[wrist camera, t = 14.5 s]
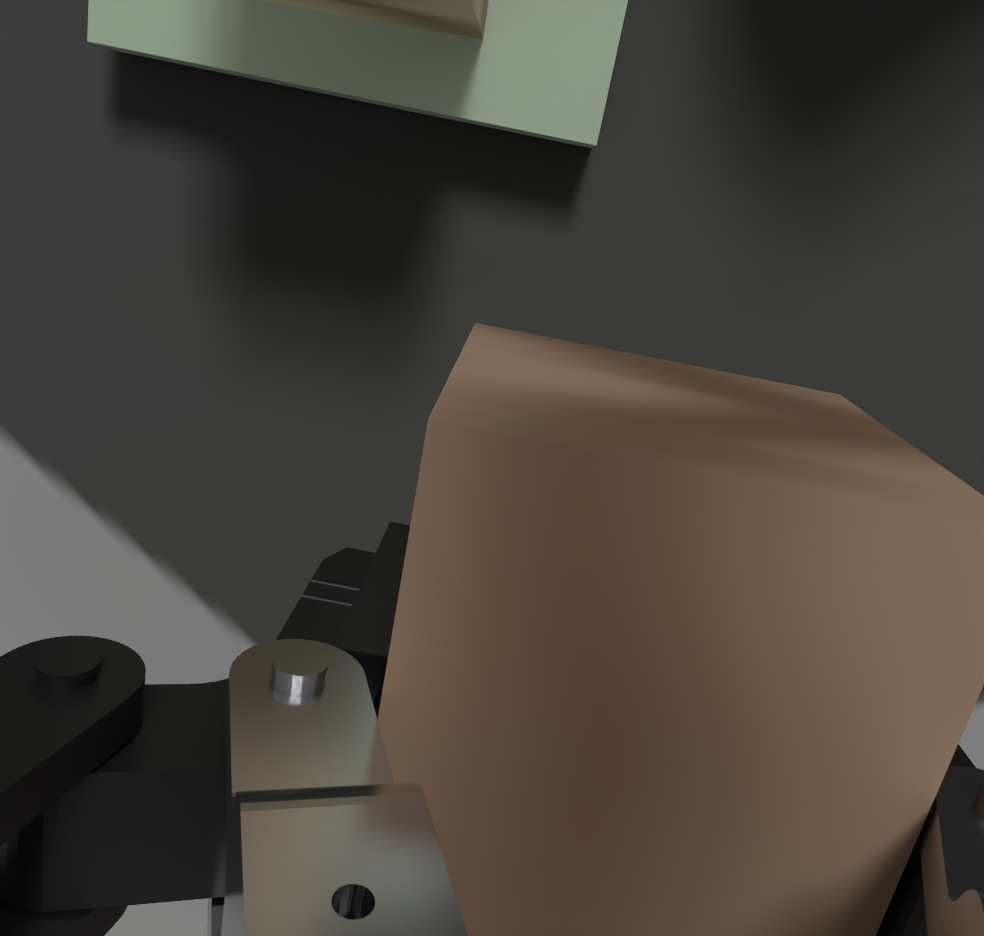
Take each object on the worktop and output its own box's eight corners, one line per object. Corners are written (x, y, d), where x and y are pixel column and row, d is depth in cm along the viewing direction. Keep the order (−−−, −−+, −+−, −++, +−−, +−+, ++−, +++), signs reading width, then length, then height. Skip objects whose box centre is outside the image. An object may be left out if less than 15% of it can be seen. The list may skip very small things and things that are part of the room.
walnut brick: (839, 394, 12) (1046, 539, 7) (687, 860, 14) (760, 1202, 9) (475, 323, 12) (428, 418, 7) (389, 802, 14) (309, 1116, 9)
